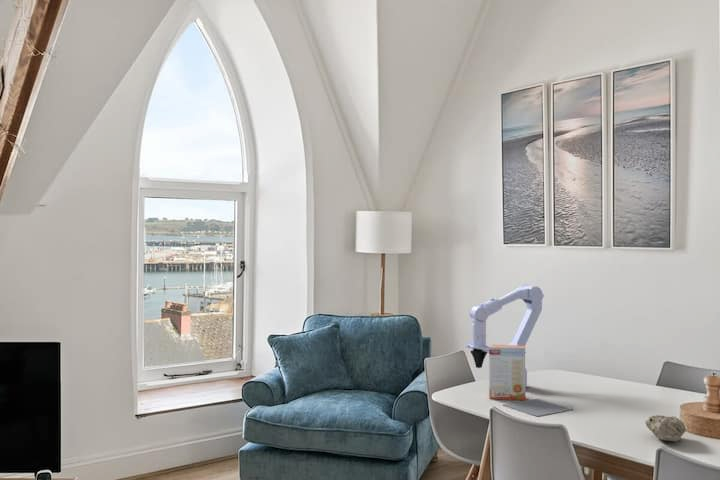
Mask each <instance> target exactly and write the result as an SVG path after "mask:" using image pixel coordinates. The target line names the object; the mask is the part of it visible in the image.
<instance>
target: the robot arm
mask: <svg viewBox="0 0 720 480" xmlns="http://www.w3.org/2000/svg"><path fill="white" fill-rule="evenodd" d="M543 293H544V292H543V291H542V289H541V288H540V287H539V286H533V285H532V286H531V285H528V284H524V285H523V284H522V285H521V286H518V287H517V288H516V289H513V290H512V291H510V292H509V293H507V294H505V295H503V296H501V297H500V298H497V297H490V298H489V300H488V301H485V302H481V303H480V304H479V305H474V306H473V307H472V308H471V309H470V312H469V316H470V318H471V342H467V343H466V344H465V347H466V349H472V350H470V354H471V355H472V358H473V361H474V365H475V368H477V369H481V368H483V363H484V360H485V358H486V356H487V354H489V345H487V320H488V318H489V317H490V316H491V315H493V314H495V313H498V312H499V311H500V312H501V310H502V309H503V306H505V305H508V304H510V303H512V302H515V301H518V300H522V301H523V302H524V303H525V305H526V308H527V309H526V312H525V314H524V316H523V318H522V319H521V323H520V325H519V327H518V329H517V330H516V333H515V335H514V337H513V340H512V341H511V342H510V343H508V344H507V345H519V346H525V347H526V345H527V342H528V340H529V339H530V337H531V335H532V332H533V330H534V328H535V326H536V323H537V321H538V319H539V317H540V315H541V312H542V310H543V299H544V297H545V295H544V294H543ZM526 353H527V352H526V351H525V354H526ZM528 387H529V385H528V371H527V368H526V367H525V388H528Z"/></svg>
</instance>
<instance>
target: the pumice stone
mask: <svg viewBox="0 0 720 480" xmlns="http://www.w3.org/2000/svg"><path fill="white" fill-rule="evenodd" d="M645 426H646V427H647V429H649V430H650V431H651V433H652V434H653V435H654V436H655V437H656V438H657V439H659V440H662V441H668V442H673V443H675V442H677V441H680V440H681V439H682V437H683V436H684V434H685V432H686V430H687V428H686V426H685V423H684V422H683V421H682V420H681V419H680V418H679V417H677V416H673V415H672V416H667V415H659V414H656V415H651V416H648V419H646V420H645Z"/></svg>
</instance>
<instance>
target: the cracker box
mask: <svg viewBox="0 0 720 480" xmlns="http://www.w3.org/2000/svg"><path fill="white" fill-rule="evenodd" d="M488 347H489V353H488V372H489V373H488V381H489V385H488V386H489V387H488V389H489V390H488V392H489V399H490V400H510V401H511V400H512V401H526V387H525V368H526V353H525V352H526V345H525V346H519V345H508V344H489V345H488Z"/></svg>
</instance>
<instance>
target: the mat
mask: <svg viewBox="0 0 720 480" xmlns="http://www.w3.org/2000/svg"><path fill="white" fill-rule="evenodd" d="M502 406H503V407H507V408H509V407H510V409H513V410H516V411H518V412H521V413H524V414H528V415H531V416H534V417H537V418H538V417H543V416H549V415H553V414H555V415H556V414H560V413H564V412H569V411H573V410H574V408H570V407H568V406H564V405H560V404H557V403H554V402H550V401H548V400H544V399H540V398H534V399H533V398H532V399H527V400H520V401H516V402H511V403H505V404H502Z"/></svg>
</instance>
